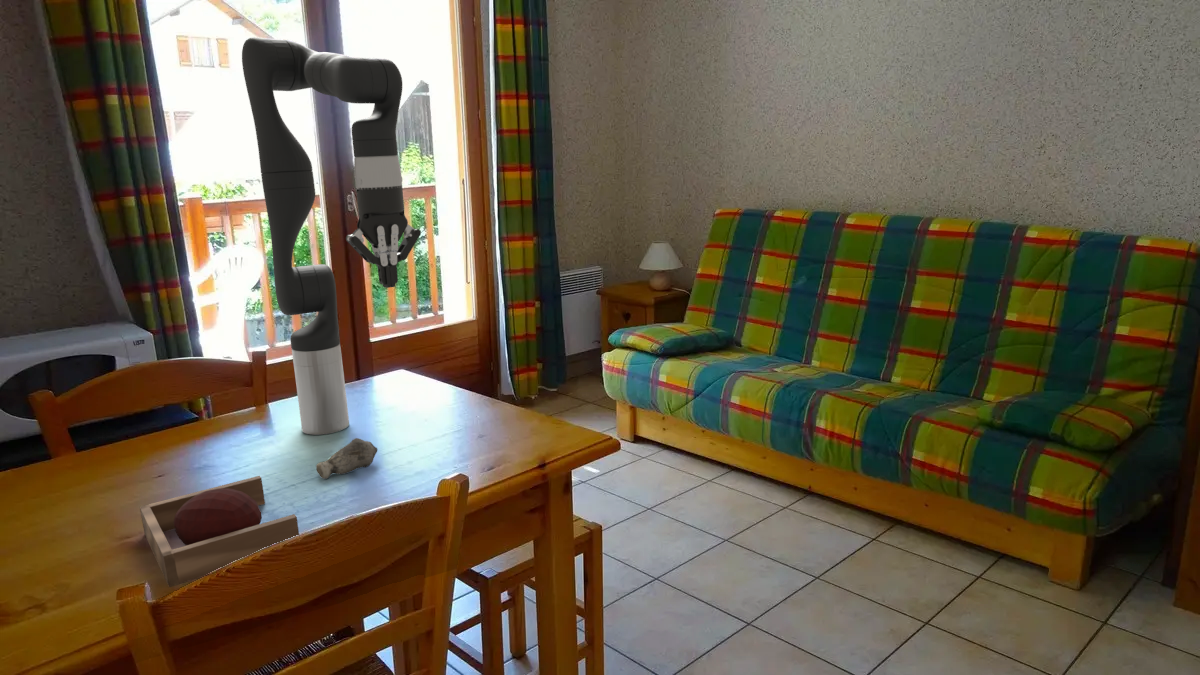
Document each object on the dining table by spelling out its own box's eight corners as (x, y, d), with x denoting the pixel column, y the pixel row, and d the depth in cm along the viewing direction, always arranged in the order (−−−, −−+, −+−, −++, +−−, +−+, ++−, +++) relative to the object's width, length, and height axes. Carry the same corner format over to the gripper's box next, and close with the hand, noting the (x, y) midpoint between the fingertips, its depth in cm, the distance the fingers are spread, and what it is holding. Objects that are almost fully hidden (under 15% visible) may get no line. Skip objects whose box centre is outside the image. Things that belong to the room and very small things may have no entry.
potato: (176, 540, 120) (167, 487, 118) (256, 520, 126) (249, 470, 124) (182, 573, 111) (172, 517, 109) (269, 550, 116) (261, 496, 114)
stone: (319, 488, 139) (348, 461, 137) (305, 461, 141) (334, 434, 138) (359, 480, 148) (387, 455, 146) (345, 456, 150) (373, 430, 147)
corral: (144, 534, 123) (139, 506, 121) (263, 501, 133) (259, 475, 131) (169, 587, 107) (163, 556, 106) (300, 545, 117) (296, 516, 116)
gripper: (406, 181, 142) (415, 279, 146) (331, 186, 134) (343, 289, 139) (425, 182, 136) (434, 284, 140) (348, 187, 129) (359, 295, 133)
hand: (388, 286), depth 140 cm, fingers closed
